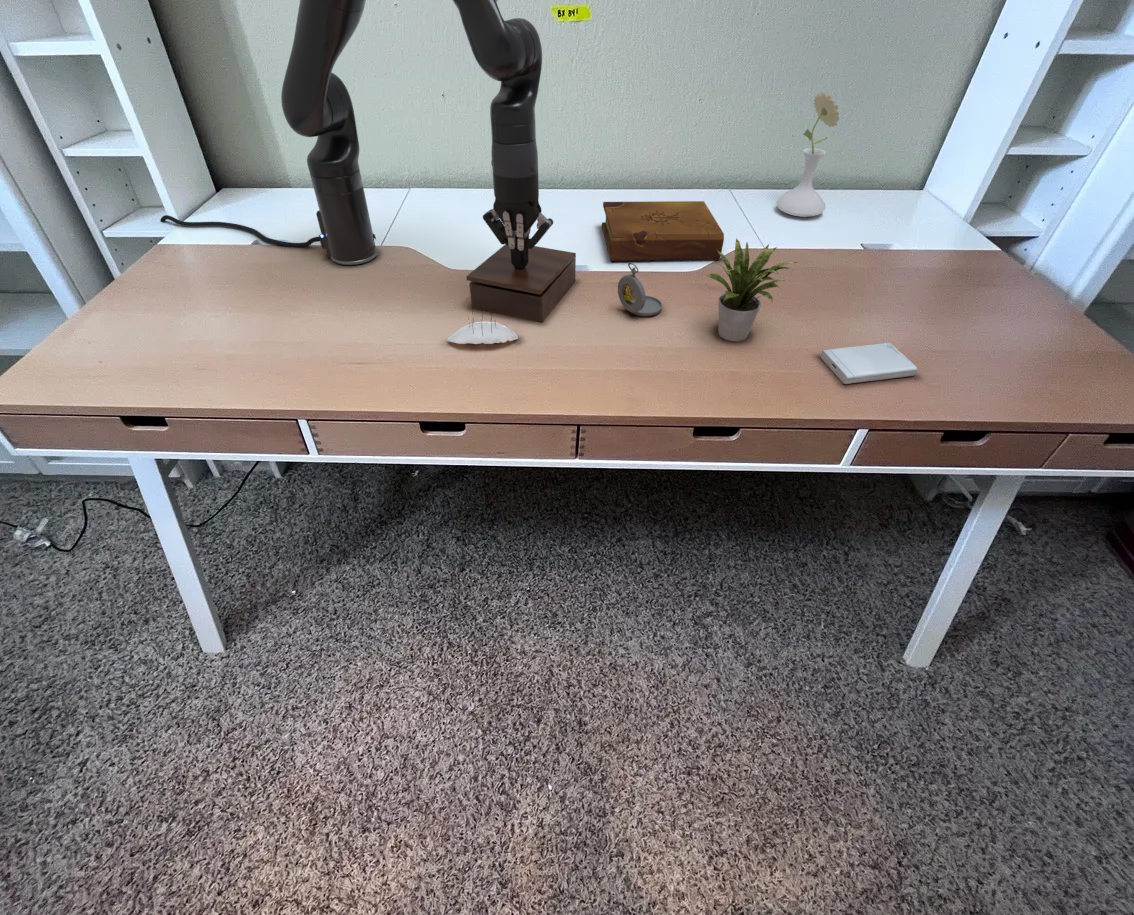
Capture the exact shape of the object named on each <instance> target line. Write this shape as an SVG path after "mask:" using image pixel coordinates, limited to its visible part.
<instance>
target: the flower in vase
mask: <svg viewBox="0 0 1134 915" xmlns="http://www.w3.org/2000/svg"><path fill="white" fill-rule="evenodd" d="M813 101H814V102H813V107H814V108H815V112H816V113H817V119H816V121H815V123H814V125H813V127H812V129H811V131H810V129H808V128H807V129H806V130H805V131H804V132H803V136H805V137H806V138H807V139H808V141H810V142H811V147H807V148H804V149H803V150H802V152H803V155H804V159H805V160H804V170H803V174H802V177H801V181H800V182H799V184H798V185H797V186H795V187H793V188H792V189H790V190H788V191H786V192H785V193H783V194H781V195H780V196H779V197H778V198H777V200H776V203H775V204H776V206H777V208H778V210H780V211H781V212H783V213H785V214H788V215H789V216H790V215H791V216H794V217H801V218H802V217H803V218H806V217H815V216H818V215H821V214H822V213H824V212H825V211H826V204H825V202H824V200H823V198H822V197H821V195H820V194H819V193H818V192H817V191H816V190H815V188H814V186H813V178H814V175H815V171H816V169H817V166H818V164H819V162H820V161H821V159H822V158H823V157H824V156H826V154H827V151H826V150H824V149H821V148H816V147H815V146H814V145H816V144H820V143H821V142H823V141H825V140H827V139H828V136H827V137H824V138H823V139H819V140H817V141H815V142H814V131H815V128H816V126H817V124H818V123H819V121H821V122H823V123H824V125H825V126H828V127H829V128H831V127H833V128H834V127H835V126H837V125H838V122H839V121H840V117H839V115H840V112H839V111H838V109H839V106H838V105H837V104H836V102H835V101H834V99H832V96H831V95H830V94H828V95H827V93H826V92H823V91H821V92H820V94H819V93H817V94H816V95H814V100H813Z"/></svg>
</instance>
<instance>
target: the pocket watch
mask: <svg viewBox="0 0 1134 915" xmlns="http://www.w3.org/2000/svg"><path fill="white" fill-rule="evenodd" d="M630 265H632V266H633V267H631V266H630ZM627 267H628V268H629V270H630V272H631V273H630V274H626V275H624V276H622V277H621V278H620V279H619V280H618V284H617V295H618V298H619V302H620V303H621V305H622V306H623V307H624V308H625V309H626V310H627V311H629V312H630V313H632V314H634V315H635V316H640V317H649V316H650V317H651V316H655V315H657V314H659V313H660V312H661V311H662V310H663V303H662V301H661V299H658V298H657V297H654V296H651V295H646V291H645V288H644V286H643V284H642V282H641V280H640V279H639V278H638V277H637V276H636V274H637V273H639V268H638V266H637V265H636V264H635V263H632V262H628V264H627Z"/></svg>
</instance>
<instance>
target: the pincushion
mask: <svg viewBox="0 0 1134 915" xmlns="http://www.w3.org/2000/svg"><path fill="white" fill-rule="evenodd" d="M481 309H482V306H481ZM471 312H472V314H474V311H473V309H472V310H471ZM481 318H482V319H481V320H480V321H476V322H475V321H474V318H472V322H471V323H468V324H466V325H464V326H461V327H460V328H459V329H458V330H456V331H454V333H452V334H451V335H450V336H449V337H448V338H447V340H446V341H447V342H450V343H453V344H454V343H455V344H458V345H466V344H473V346H474V347H475V346H476V345H477V344H482V346H485V344H488V345H489V344H490V345H492V346H494V344H495V343H497V344H500V343H502V344H504V343H507V341H508V342H512V341H514V340H519V337H518V335H517V334H516V332H514V331H513V330H512V329H510V328H509V327H508V326H505V325H503V323H499V322H497V321H493V319H492V315H490V321H488V320H487V321H486V320H485V321H484V316H483V315H481ZM468 319H470V317H468Z"/></svg>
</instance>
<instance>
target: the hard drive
mask: <svg viewBox="0 0 1134 915" xmlns="http://www.w3.org/2000/svg"><path fill="white" fill-rule="evenodd" d="M819 357H820V359H821V360H822V361H823V362H824V363H825V365H826V366H827V367H828V368H829V369H830V370H831V371H832V373H834V375H835V376H836V377H837V378H838V379H839V380H840V381H841V383H842V384H844V385H848V384H856V383H866V382H872V381H874V382H875V381H882V380H889V379H897V378H905V377H913V376H916V375H917V372H918V370H919V369H918V367H917V366H916V365H915V364H914V363H913V362H912V361H911V360H910V359H909V358H907V356H905V354H903V353H902V352H901V351H900V350H899V349H898V348H896V346H894V345H893V344H892V343H891V342H884V343H875V344H874V343H873V344H865V345H857V346H848V347H839V348H838V347H837V348H831V349H822V350H821V352H820V355H819Z"/></svg>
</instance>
